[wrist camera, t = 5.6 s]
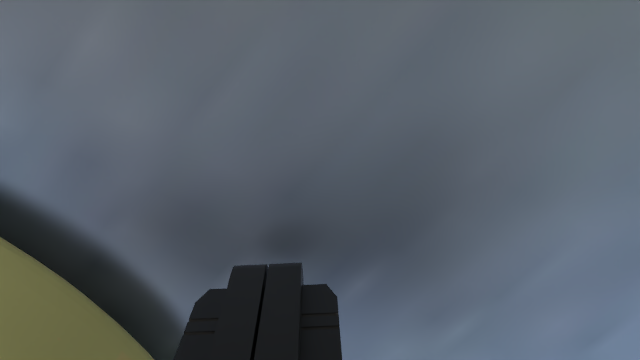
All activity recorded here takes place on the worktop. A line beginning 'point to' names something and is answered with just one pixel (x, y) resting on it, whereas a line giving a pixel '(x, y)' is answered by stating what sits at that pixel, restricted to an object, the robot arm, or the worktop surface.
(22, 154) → the worktop surface
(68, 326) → the banana
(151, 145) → the worktop surface
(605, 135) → the worktop surface
